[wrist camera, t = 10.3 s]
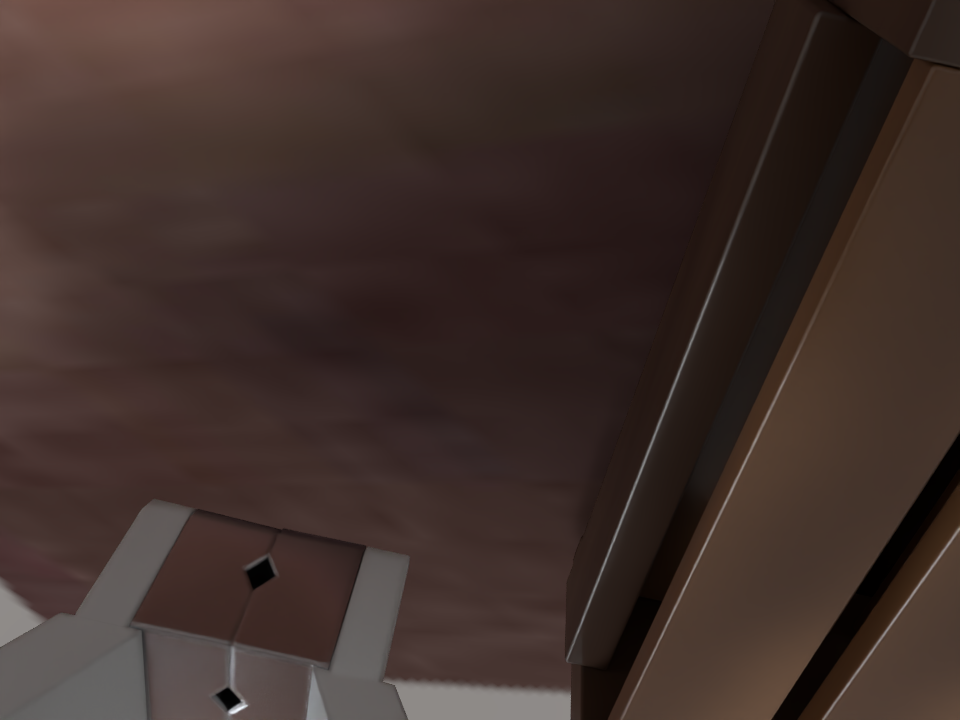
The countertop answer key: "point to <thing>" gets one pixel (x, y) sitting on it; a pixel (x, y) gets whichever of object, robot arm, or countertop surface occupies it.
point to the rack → (796, 403)
